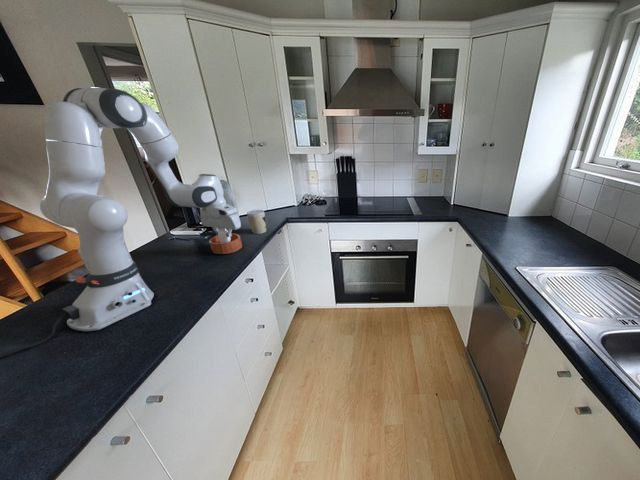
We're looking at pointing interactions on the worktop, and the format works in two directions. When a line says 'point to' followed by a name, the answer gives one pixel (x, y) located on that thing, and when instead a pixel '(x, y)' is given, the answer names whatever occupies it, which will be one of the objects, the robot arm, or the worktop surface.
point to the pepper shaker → (223, 235)
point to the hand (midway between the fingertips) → (224, 235)
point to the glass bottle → (228, 194)
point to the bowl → (226, 244)
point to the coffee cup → (257, 221)
